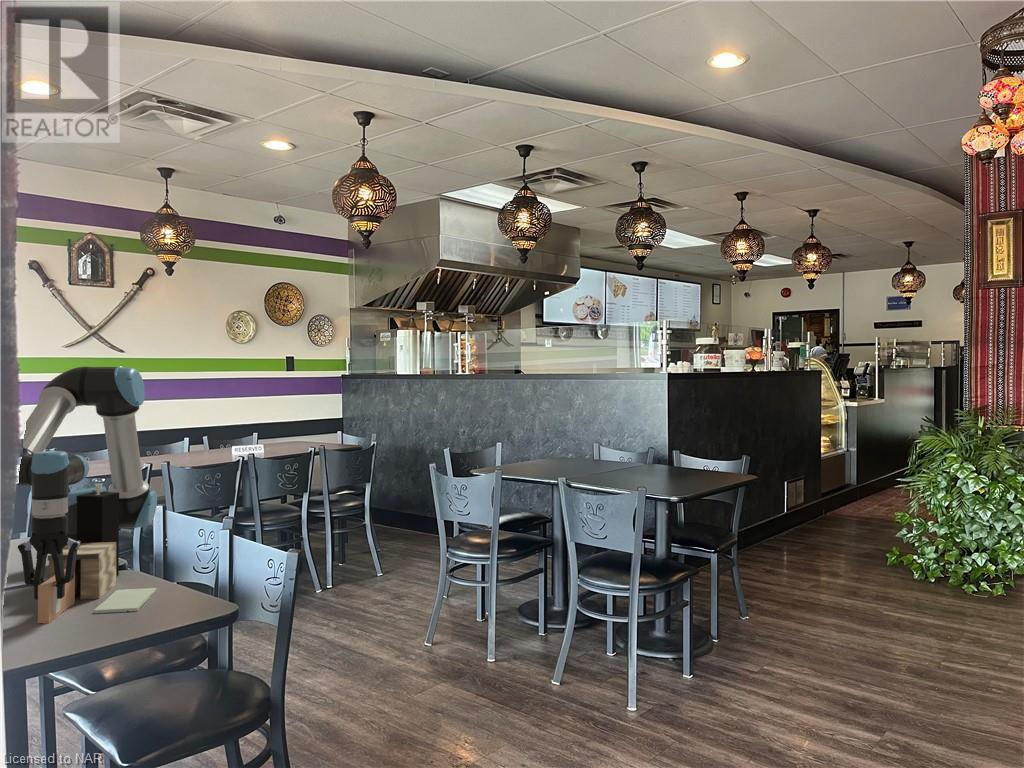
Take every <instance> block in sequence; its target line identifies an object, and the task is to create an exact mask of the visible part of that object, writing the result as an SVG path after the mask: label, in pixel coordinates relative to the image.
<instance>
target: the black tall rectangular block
mask: <svg viewBox="0 0 1024 768" xmlns="http://www.w3.org/2000/svg"><path fill="white" fill-rule="evenodd" d="M94 487H95V488H96V492H92V493H88V494H83V495H79V496H77V541H81V543H103V542H116V577H118V576H119V567H120V566H119V561H120V559H119V553H120V551H119V549H120V547H119V545H120V544H119V542H120V539H119V538H120V533H119V531H120V528H119V492H108V491H106V492H101V488H102V487H103V483H102V482H101V483H99V482H98V483H94Z"/></svg>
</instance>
